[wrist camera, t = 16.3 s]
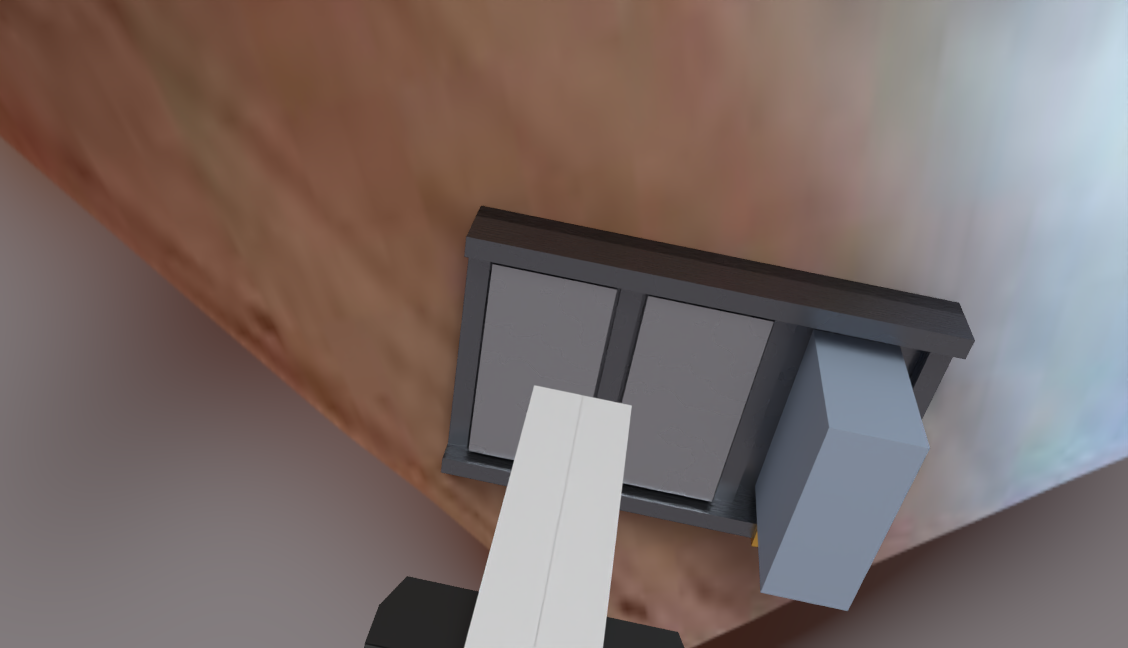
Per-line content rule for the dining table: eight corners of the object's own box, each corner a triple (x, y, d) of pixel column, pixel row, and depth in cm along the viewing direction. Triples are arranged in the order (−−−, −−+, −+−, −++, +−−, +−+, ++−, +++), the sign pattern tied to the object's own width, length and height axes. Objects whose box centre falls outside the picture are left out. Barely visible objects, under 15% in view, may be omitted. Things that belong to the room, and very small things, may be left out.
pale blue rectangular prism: (755, 485, 48) (760, 592, 42) (813, 329, 42) (829, 427, 36) (831, 501, 48) (847, 610, 42) (900, 346, 42) (930, 448, 36)
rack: (454, 435, 50) (438, 479, 47) (481, 205, 42) (463, 242, 39) (855, 519, 49) (864, 569, 47) (959, 303, 42) (977, 347, 39)
